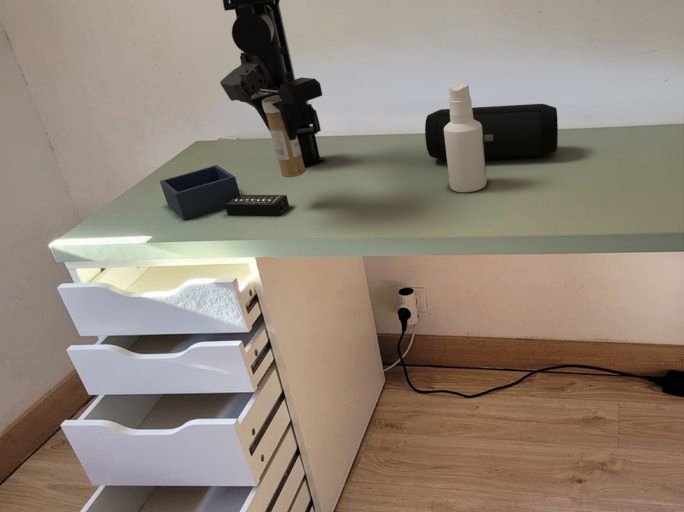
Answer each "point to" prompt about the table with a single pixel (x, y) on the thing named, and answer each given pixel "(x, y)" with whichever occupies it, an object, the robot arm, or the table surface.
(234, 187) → the tub
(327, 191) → the table surface
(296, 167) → the sprinkles bottle
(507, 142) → the portable speaker
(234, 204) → the multiport hub
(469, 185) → the spray bottle
